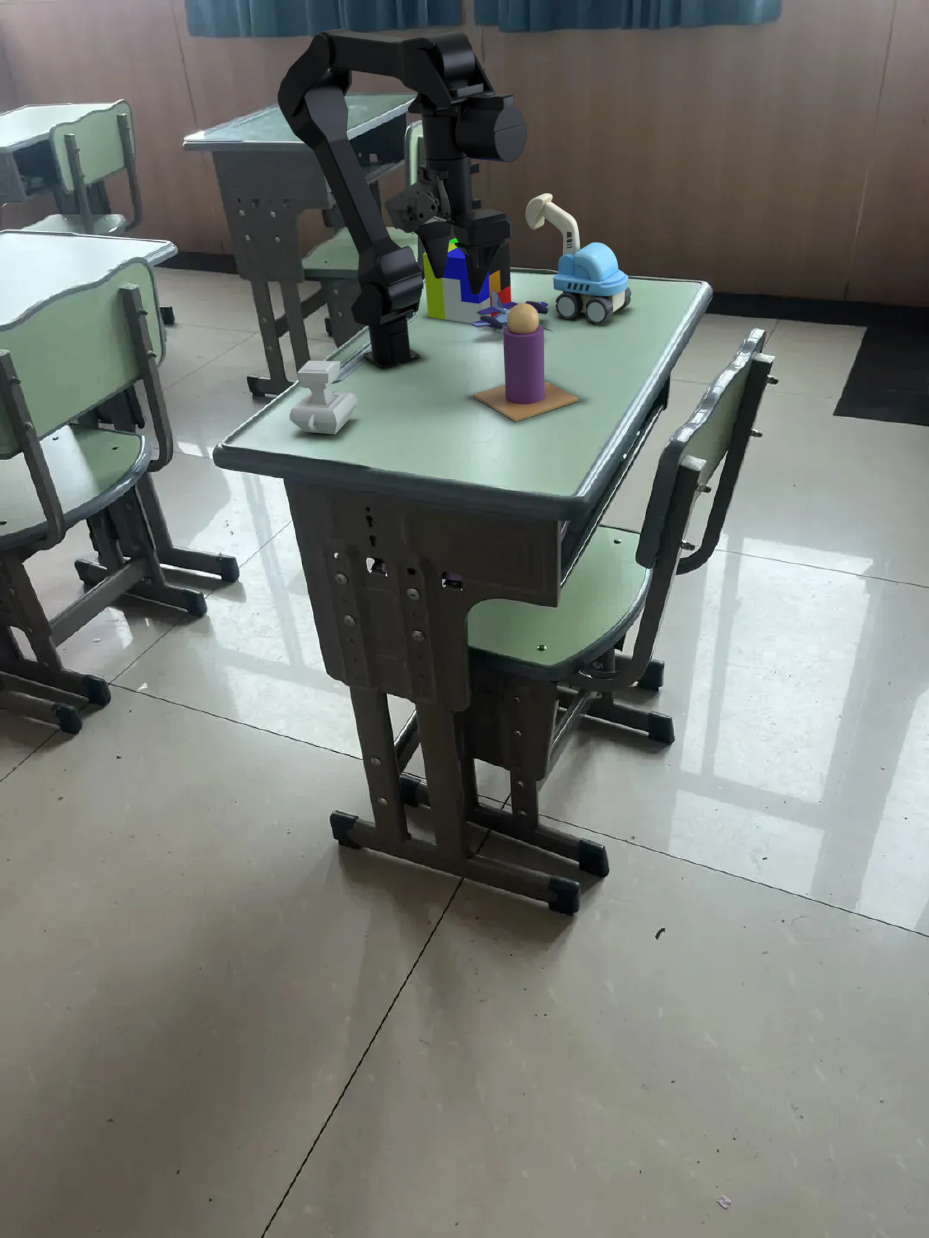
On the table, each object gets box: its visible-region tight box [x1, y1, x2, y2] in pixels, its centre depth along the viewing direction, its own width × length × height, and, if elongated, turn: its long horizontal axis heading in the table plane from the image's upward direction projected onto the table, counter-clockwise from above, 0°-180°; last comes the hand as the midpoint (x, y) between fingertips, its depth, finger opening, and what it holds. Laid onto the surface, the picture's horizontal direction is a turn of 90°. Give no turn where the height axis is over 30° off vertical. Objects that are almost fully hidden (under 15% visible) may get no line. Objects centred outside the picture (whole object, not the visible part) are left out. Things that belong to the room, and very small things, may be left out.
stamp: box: [289, 360, 359, 435], centre depth 116 cm, size 9×7×8 cm
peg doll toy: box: [502, 302, 546, 404], centre depth 118 cm, size 5×5×12 cm
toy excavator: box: [525, 193, 632, 326], centre depth 143 cm, size 9×17×17 cm, turn 54°
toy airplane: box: [470, 291, 553, 333], centre depth 141 cm, size 13×14×4 cm
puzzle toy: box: [422, 237, 512, 324], centre depth 148 cm, size 10×10×10 cm
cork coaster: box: [473, 380, 579, 423], centre depth 122 cm, size 10×10×1 cm
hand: (457, 286), depth 121 cm, fingers open, 9 cm apart
